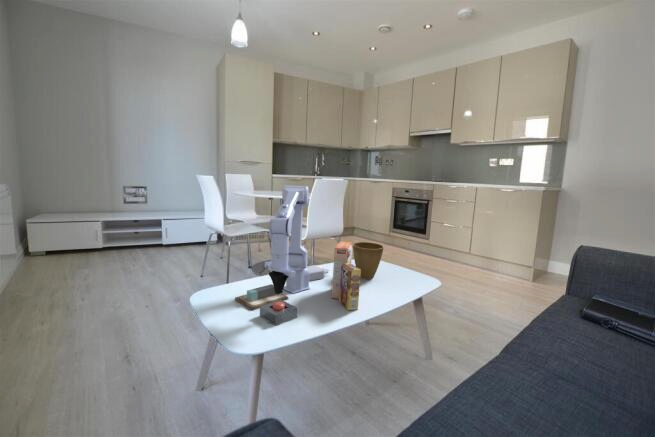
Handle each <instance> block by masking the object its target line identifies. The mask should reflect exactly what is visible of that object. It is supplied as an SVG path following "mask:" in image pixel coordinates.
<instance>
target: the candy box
mask: <svg viewBox="0 0 655 437" xmlns="http://www.w3.org/2000/svg"><path fill="white" fill-rule="evenodd" d="M360 276H361V269H359V268H357V267H356V265H355V264H352V263H351V264H350V263H345V264H342V265H341V280H340V296H339V299H338V301H339V303H340V304H341V305H342V306H343V307H344V308H346V310H347V311H353V310H354V311H355V310H358V309H359V299H360V298H359V297H360V288H361V286H360V285H361V278H360Z"/></svg>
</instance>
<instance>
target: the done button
mask: <svg viewBox="0 0 655 437" xmlns="http://www.w3.org/2000/svg"><path fill="white" fill-rule="evenodd" d="M273 309H274V310H276V311H280V310H283V309H285V304H284V303H283V302H275V303H273Z"/></svg>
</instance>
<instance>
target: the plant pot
mask: <svg viewBox="0 0 655 437" xmlns="http://www.w3.org/2000/svg"><path fill="white" fill-rule="evenodd" d="M384 249H385V247H384V245H383V244H380V243H377V242H376V243H375V242H367V241H358V242H354V243H353V246H352V254H353V260H354V266H356V267H357V268H359V269H361V276H360V279H363V280H370V279H371V280H373V279H374V277H375V275H376V273H377V271H378V269H379V266H380V263H381V260H382V256H383V252H384Z"/></svg>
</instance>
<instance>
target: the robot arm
mask: <svg viewBox="0 0 655 437" xmlns="http://www.w3.org/2000/svg"><path fill="white" fill-rule="evenodd" d="M281 196H282V199H283V204H280V205H279V207H278V210H277V211H276V214H275V216H274V217H272V218H271V219H270V221H269V223H268V224H269V225H268V230H269V239H270V241H271V243H270V244H271V245H270V246H271V247H270V260H269V261H264V268H265V269H267V270H268V271H269V272H268V276H269V278H270V279H271V282H272V285H273V286H274V290H275V293H276V294H280V293H281V294H283V291H284V290H285V291H287V292H289V293H291V294H296V293H299V292H302V291H303V292H304V291H306V290H309V289H311V287H310V281H309V271H308V269H307V268H306V267H307V266H308V261H309V259H308V258H309V257H308V253H309V252H308V250H307V249H306V248H305V247H304V246H303V245H302V240H303V238H302V237H303V235H302V234H303V216H304V215H303V213H304V209H305V207H307V206H308V205H309V201H310V200H309V199H310V189H309V187H308V186H307V185H303V186H302V185H287V184H284V185H283V187H282V191H281Z"/></svg>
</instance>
